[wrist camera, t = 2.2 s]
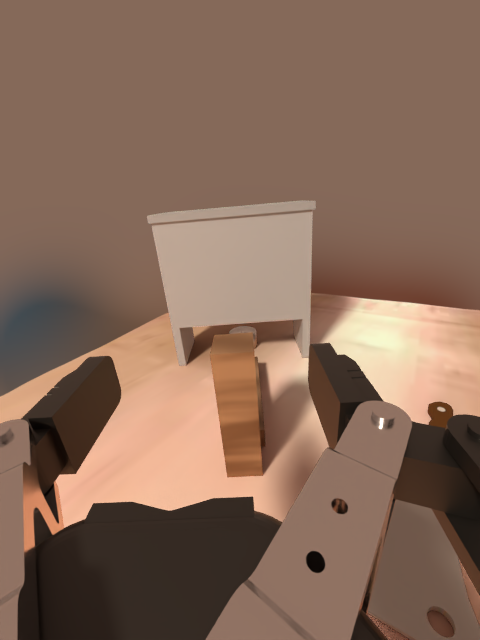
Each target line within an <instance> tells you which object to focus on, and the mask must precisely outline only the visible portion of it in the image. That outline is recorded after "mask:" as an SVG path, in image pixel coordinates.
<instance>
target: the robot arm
mask: <svg viewBox="0 0 480 640" xmlns="http://www.w3.org/2000/svg"><path fill="white" fill-rule="evenodd" d="M308 382H309V389H310V393H311V396H312V399H313V402H314V405H315V408H316V410H317V413H318V416H319V419H320V422H321V424H322V427H323V430H324V433H325V436H326V438H327V441H328V444H329V447H330V448H327V449H326V450H325V451H324V452H323V454H322V456H321V457H320V459H319V461H318V463H317V464H316V466H315V468H314V469H313V471H312V473H311V475H310V476H309V478H308V480H307V481H306V483H305V485H304V487H303V488H302V490H301V492H300V494H299V495H298V497H297V499H296V500H295V502H294V504H293V506H292V507H291V509H290V511H289V512H288V514H287V516H286V518H285V519H284V521H283V523H282V522H281V521H279V520H277V519H275V518H273V517H271V516H269V515H266V514H264V513H261V512H257V511H254V502H253V497H236V498H213V499H210V500H206V501H203V502H200V503H196V504H193V505H190V506H186V507H183V508H179V509H176V510H172V511H167V510H162V509H158V508H154V507H150V506H146V505H142V504H138V503H134V502H117V503H94V504H93V505H92V507H91V509H90V511H89V513H88V515H87V517H86V519H85V520H82V521H79V522H77V523H74V524H72V525H70V526H68V527H66V528H64V524H63V517H62V510H61V504H60V497H59V490H58V486H57V484H56V481H55V480H56V479H57V477H58V476H59V475H60V474H76V472H77V471H78V469H79V468H80V466H81V464H82V463H83V461H84V459H85V458H86V456H87V455H88V453H89V451H90V450H91V448H92V446H93V445H94V443H95V442H96V440H97V438H98V437H99V435H100V433H101V432H102V430H103V428H104V427H105V425H106V424H107V422H108V420H109V419H110V417H111V415H112V414H113V412H114V411H115V409H116V407H117V406H118V404H119V402H120V399H121V387H120V384H119V380H118V377H117V373H116V370H115V366H114V363H113V360H112V358H111V357H110V356H99V357H89V358H87V359H86V360H85V361H84V362H83V363H82V364H81V365H80V366H79V367H78V368H77V369H76V370H75V371H73V372H72V373H70V374H68V375H67V376H65V377H64V378H62V379H61V380H60V381H59V382H58V383H57V384H56V385H55V386H54V388H52V389H51V390H50V391H49V392H48V393H47V396H44V397H43V398H42V399H41V400H40V401H39V402H38V403H37V404H36V405H35V406H34V407H33V408H32V409H31V410H30V411H29V412H28V413H27V414H26V415H25V416H24V417H23V418H22V419H17V420H10V421H7V422H4V423H1V424H0V640H388V639H387V638H386V637H385V636H384V634H383V633H382V632H381V631H380V630H379V629H378V627H377V626H376V625H375V624H374V623H373V621H372V620H371V619H370V618H369V617H368V616H367V612H368V608H369V605H370V601H371V597H372V593H373V589H374V585H375V581H376V577H377V572H378V568H379V564H380V560H381V556H382V552H383V548H384V544H385V541H386V537H387V533H388V529H389V525H390V522H391V518H392V514H393V510H394V506H395V503H396V500H400V501H404V502H408V503H412V504H415V505H419V506H423V507H427V508H431V509H432V511H433V512H434V514H435V516H436V518H437V520H438V521H439V523H440V525H441V527H442V529H443V530H444V532H445V534H446V536H447V538H448V539H449V541H450V543H451V545H452V547H453V548H454V550H455V552H456V554H457V556H458V557H459V559H460V561H461V563H462V565H463V566H464V568H465V570H466V572H467V574H468V576H469V577H470V579H471V581H472V583H473V585H474V586H475V588H476V590H477V592H478V594H479V595H480V417H477V416H473V415H455V416H453V417H451V418H450V419H449V420H448V422H447V425H446V428H443V427H437V426H431V425H425V424H420V423H416V422H412V421H411V419H410V417H409V416H408V415H407V414H406V413H405V412H404V411H403V410H402V409H400V408H399V407H397V406H395V405H393V404H390V403H387V402H384V401H383V400H382V398H381V397H380V396H379V394H378V393H377V391H376V390H375V389H374V387H373V386H372V384H371V383H370V382H369V380H368V379H367V378H366V376H365V375H364V373H363V372H362V371H361V369H360V367H359V366H358V365H357V363H356V362H355V361H354V360H352V359H351V358H349V357H348V356H346V355H337V354H336V352H335V350H334V349H333V347H332V346H331V344H330V343H321V344H310V346H309V370H308Z"/></svg>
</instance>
